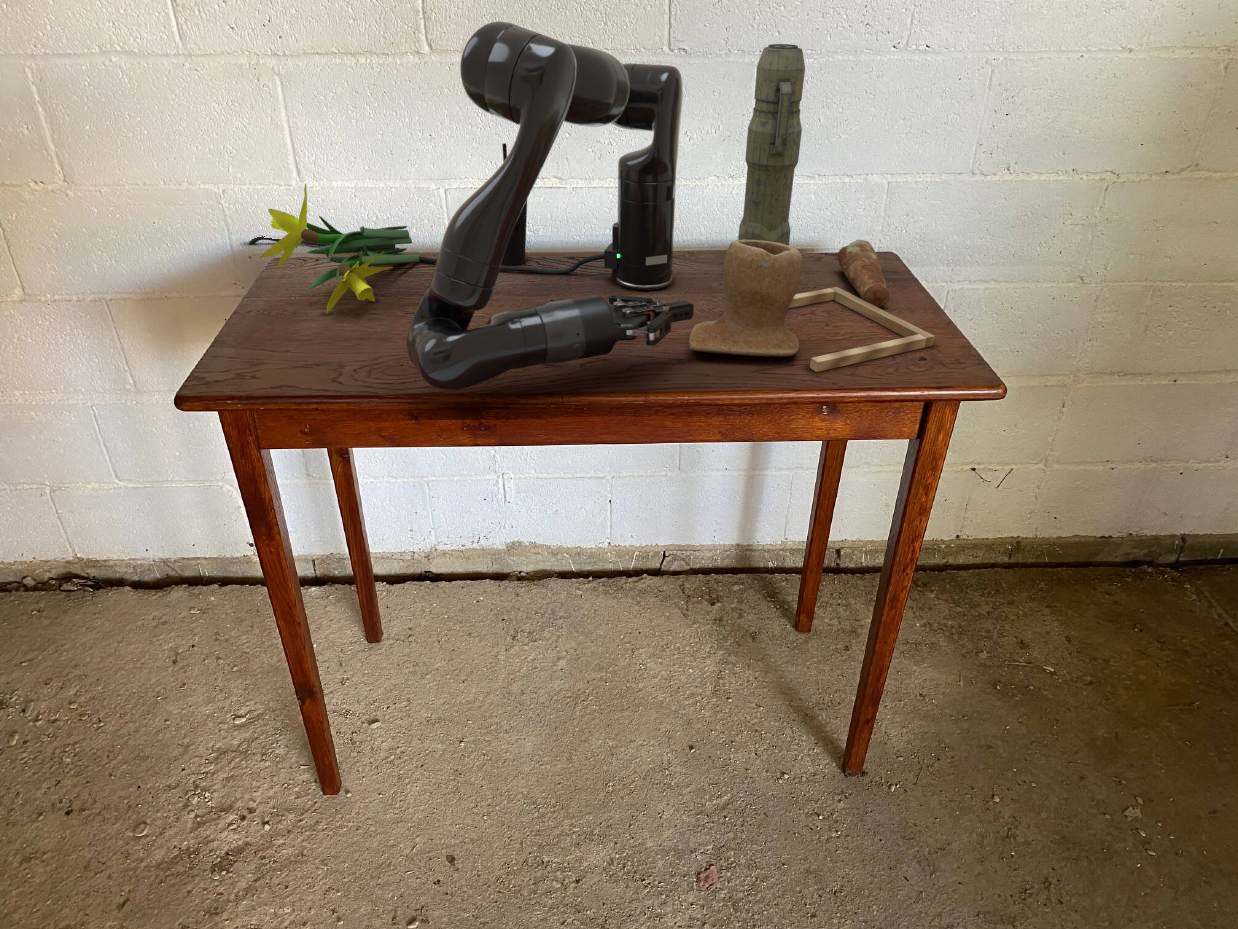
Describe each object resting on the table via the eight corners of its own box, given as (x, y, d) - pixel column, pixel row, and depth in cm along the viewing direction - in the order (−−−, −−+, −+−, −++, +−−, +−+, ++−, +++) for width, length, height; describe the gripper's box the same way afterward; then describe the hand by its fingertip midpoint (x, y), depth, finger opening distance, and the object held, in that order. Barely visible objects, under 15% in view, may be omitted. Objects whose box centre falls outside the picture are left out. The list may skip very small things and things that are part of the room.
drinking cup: (539, 257, 151) (534, 141, 141) (522, 270, 145) (515, 149, 135) (501, 252, 153) (493, 137, 143) (482, 265, 147) (472, 146, 137)
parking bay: (816, 372, 112) (817, 362, 111) (728, 315, 129) (729, 306, 128) (932, 345, 119) (934, 336, 119) (835, 295, 136) (836, 286, 135)
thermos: (775, 251, 155) (798, 41, 136) (795, 273, 145) (823, 49, 126) (728, 253, 154) (745, 41, 135) (746, 275, 144) (766, 49, 125)
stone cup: (794, 333, 123) (807, 232, 115) (799, 368, 113) (814, 259, 105) (691, 327, 124) (697, 227, 116) (687, 361, 114) (693, 254, 106)
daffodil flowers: (462, 270, 148) (363, 284, 115) (397, 308, 152) (285, 332, 119) (414, 182, 145) (299, 170, 112) (349, 224, 150) (221, 224, 117)
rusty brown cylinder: (871, 270, 147) (876, 239, 144) (891, 311, 131) (898, 276, 128) (834, 269, 147) (839, 237, 144) (850, 309, 131) (856, 275, 128)
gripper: (592, 320, 98) (718, 298, 104) (549, 284, 108) (667, 266, 114) (592, 378, 102) (714, 353, 108) (551, 338, 112) (665, 318, 118)
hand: (690, 309), depth 111 cm, fingers closed
